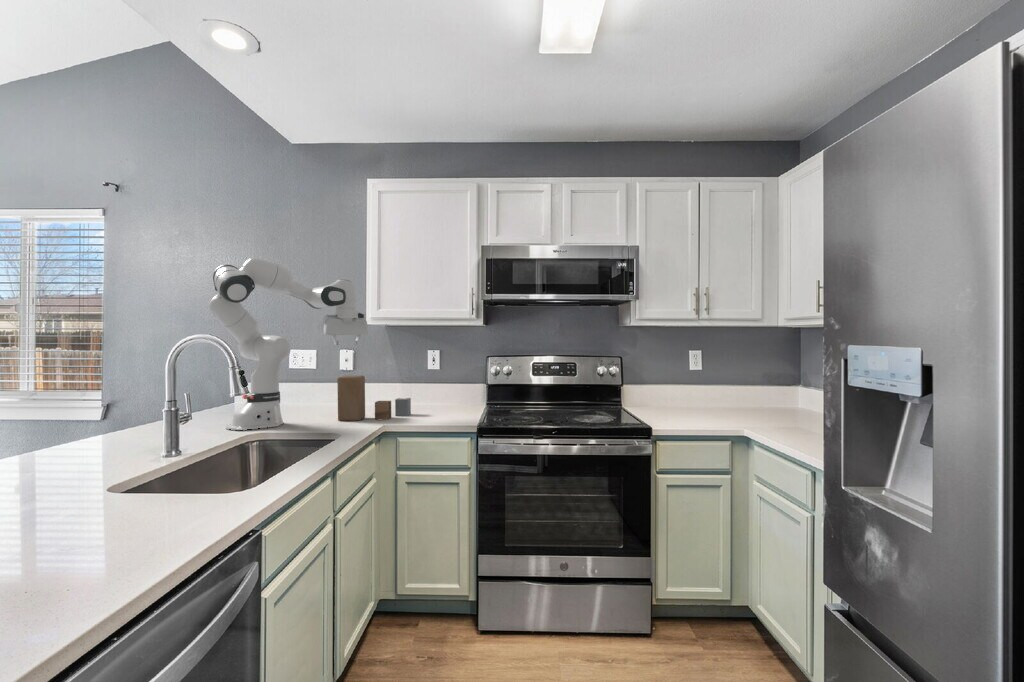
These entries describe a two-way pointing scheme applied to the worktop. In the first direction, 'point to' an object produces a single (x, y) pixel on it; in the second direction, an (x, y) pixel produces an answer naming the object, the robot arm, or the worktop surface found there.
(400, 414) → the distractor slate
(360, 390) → the block
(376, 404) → the brown upright block
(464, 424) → the worktop surface
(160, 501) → the worktop surface
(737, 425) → the worktop surface
